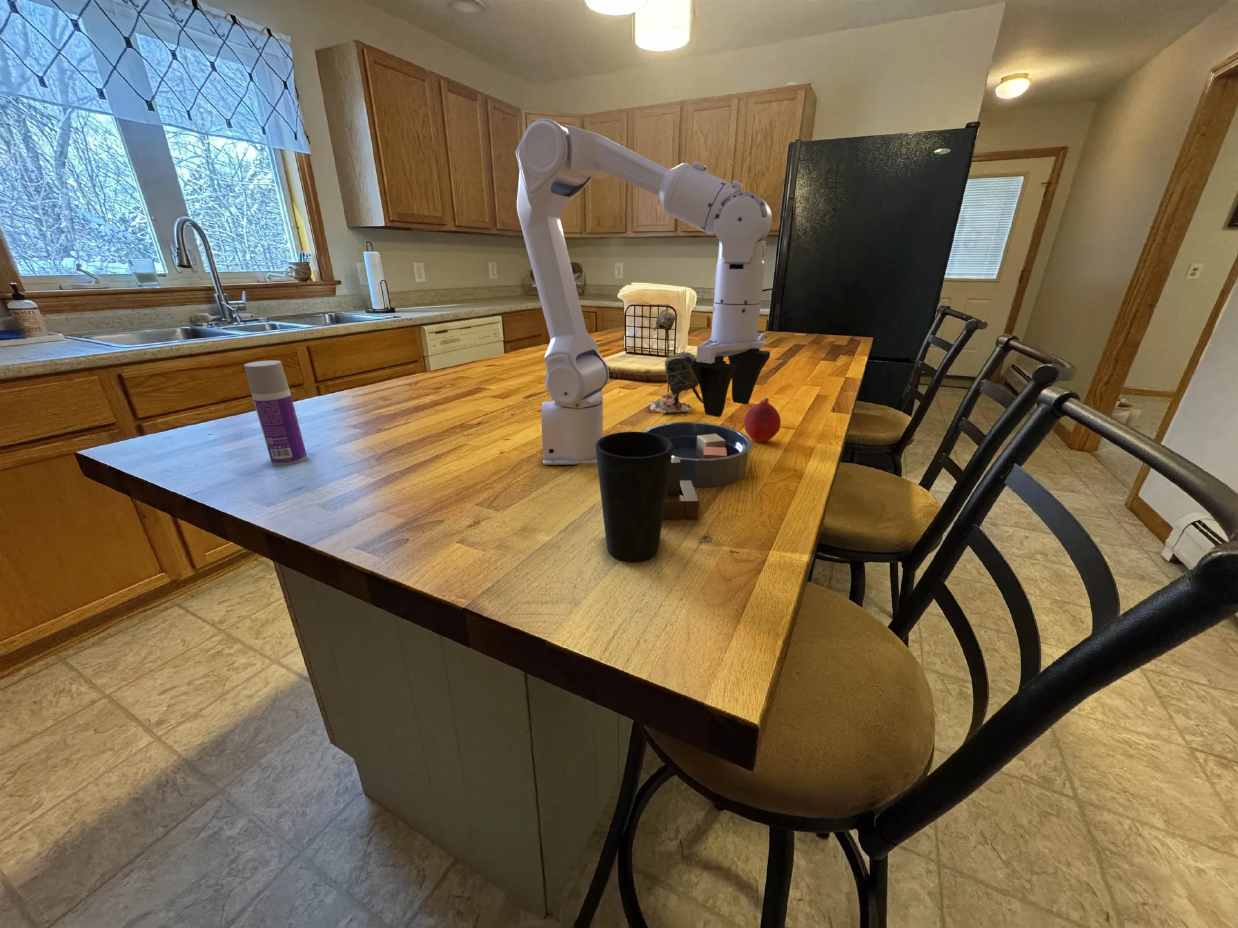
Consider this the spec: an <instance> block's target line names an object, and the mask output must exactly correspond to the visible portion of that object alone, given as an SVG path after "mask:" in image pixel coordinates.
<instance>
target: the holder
mask: <svg viewBox="0 0 1238 928" xmlns="http://www.w3.org/2000/svg"><path fill="white" fill-rule="evenodd" d="M695 489H696V488H695V487H693V484H692V481H691V480H688V481H680V493H679V495H669V496H666V500H665V507H664V514H663V521H694V520H695V521H697V520H699V506H700V499H699V498H698V495H697V492H696V490H695Z"/></svg>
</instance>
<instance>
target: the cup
mask: <svg viewBox="0 0 1238 928" xmlns="http://www.w3.org/2000/svg"><path fill="white" fill-rule="evenodd" d="M595 448H596V456H597V462H596V464H597V473H598V480H599V482H598V483H599V489H600V500H601V507H602V517H603V525H604V526H603V527H604V535H605V542H606V550H607V553H608V554H609V556H610V557H612V558H614V559H615V560H618V561H621V562H625V563H641V562H645V561H649V560H651V559H653V558H654V557H655V556H656V555H657V554H658V552H659V549H660V540H661V534H662V528H663V521H664V520H663V514H664V507H665V500H666V493H667V486H668V479H669V472H670V465H671V458H672V452H673V444H672V443H671V441H670V440H668V439H667V438H665V437H663V436H660V435H657V434H653V433H647V432H643V431H620V432H615V433H614V432H613V433H609V434H606V435H603V437H602V438H600V439H599V440H598V441H597V442H596V445H595Z"/></svg>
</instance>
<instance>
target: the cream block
mask: <svg viewBox="0 0 1238 928" xmlns="http://www.w3.org/2000/svg"><path fill="white" fill-rule="evenodd" d="M704 447H721V448H725V440H724V439H723V438H721V437H720V436H718V435H717V434H709V435H699V436H697V446H696V455H697V456H698V457H699V458H700V459H703V448H704Z"/></svg>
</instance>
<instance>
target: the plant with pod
mask: <svg viewBox="0 0 1238 928" xmlns="http://www.w3.org/2000/svg"><path fill="white" fill-rule="evenodd" d="M675 320H676V316H675V314H673V313H672V312H670V311H668V310H667V309H662V310H661V311H660V313H659V314H658V317H657V319H656V321H655V326H654V328H653V331H654V332H655V331H657V329H661V330H664V331H665V339H666V340H665V341H666V358H665V360H664V368H665V369H664V370H665V373H666V374H665V375H666V379H667V380H666V381H667V394H666V393H662V394H661V398H660V399H658V400H655V401H653V400H651V401H650V404H648V406H647V407H646V409H647V410H650V411H653V412H662V413H664V414H665V413H666V414H668V413H681V412H682V413H689V412H690V410H691V409H692V407H691V405H690V404H689V403H688V404H687V403H686V402H680V400H679V396H680V393H682V392H684V391H685V392H687V391H689V390H692V391H693V393H694V395H695V397H696V398H697V399H698V401H699V402H700V403H701V404H703V399H702V397H701V396H700V393H699V392H698V390H697V389H696V388H697V387H698V386H699V383H698V380H697V378H696V375H695V373H694V371H693V370H692V368H691V360H692V359H694V358H695V354H692V353H691V352H688V351H686V352H680V353H675V354H673V355H670V344H669V343H670V341H669V340H670V334H669V333H670V331H671V330H672V328H673V326H674V323H675ZM669 392H670V393H671V394H669Z"/></svg>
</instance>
